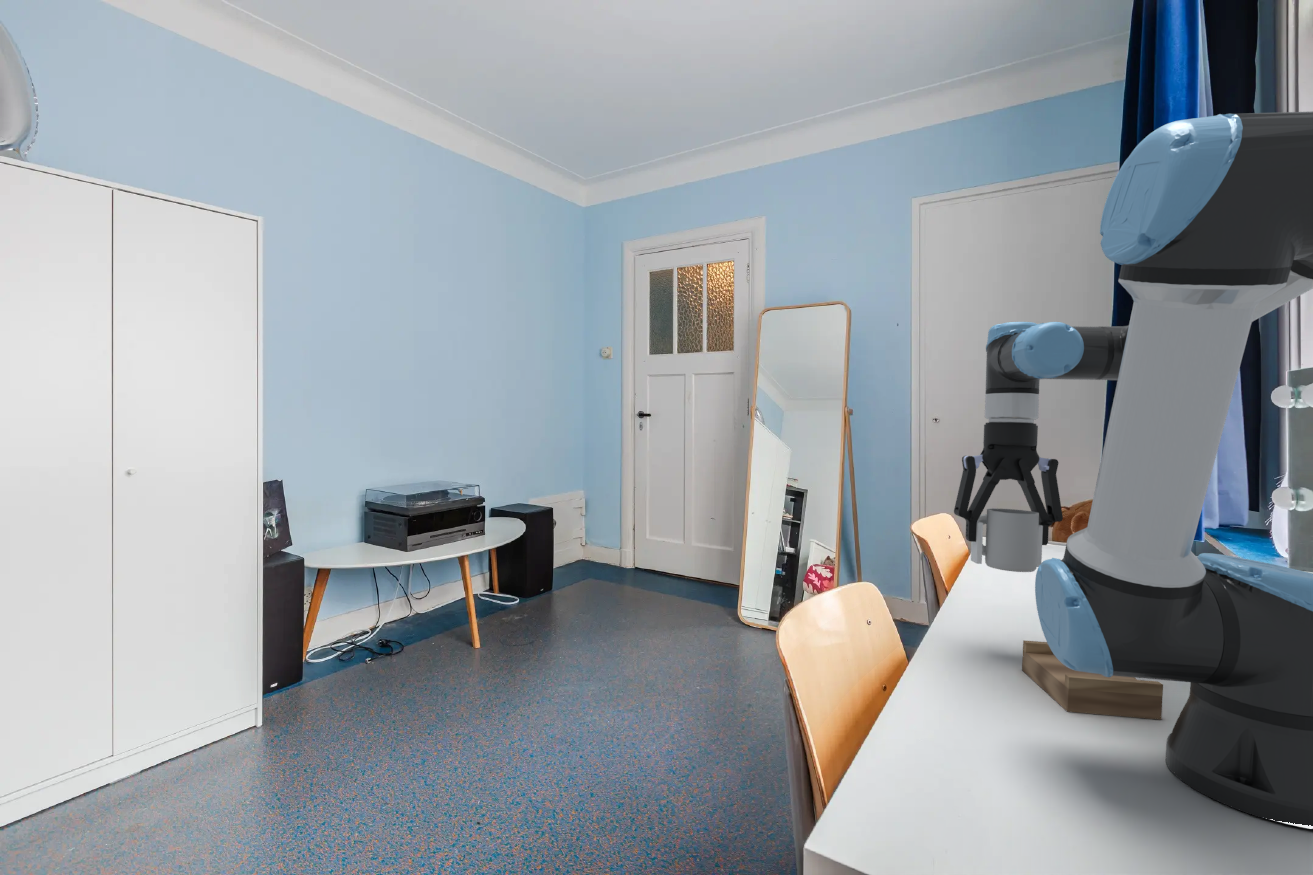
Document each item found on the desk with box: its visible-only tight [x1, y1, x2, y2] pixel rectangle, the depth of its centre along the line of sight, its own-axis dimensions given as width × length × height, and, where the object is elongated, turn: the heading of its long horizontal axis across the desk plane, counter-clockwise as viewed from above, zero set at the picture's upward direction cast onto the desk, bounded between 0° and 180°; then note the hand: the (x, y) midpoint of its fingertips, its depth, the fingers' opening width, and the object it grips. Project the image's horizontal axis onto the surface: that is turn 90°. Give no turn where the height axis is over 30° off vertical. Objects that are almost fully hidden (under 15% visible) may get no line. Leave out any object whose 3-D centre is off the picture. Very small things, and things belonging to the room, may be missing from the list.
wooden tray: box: [1021, 640, 1164, 721], centre depth 89 cm, size 14×11×4 cm
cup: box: [978, 507, 1039, 573], centre depth 103 cm, size 7×10×9 cm
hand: (1005, 563), depth 102 cm, fingers closed on cup, 8 cm apart
